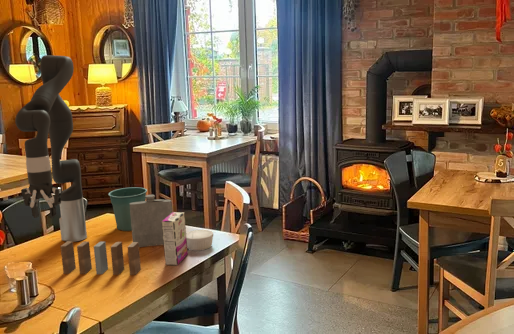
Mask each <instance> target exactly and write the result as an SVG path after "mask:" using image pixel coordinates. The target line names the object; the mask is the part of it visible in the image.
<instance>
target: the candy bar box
mask: <svg viewBox="0 0 514 334" xmlns="http://www.w3.org/2000/svg"><path fill="white" fill-rule="evenodd" d="M162 231H163V241H164V245H163V249H164V262H165V263H164V264H165V265H166V266H179V265H180V263H182V261H183V260H184V259H185V258H186V257H187V256H188V254H189V252H188V248H187V239H186V233H187V230H186V217H185V212H179V211H178V212H177V211H172V213H171V214H170V215H169V216H168V217H166V218H165V219H164V220H163V221H162Z"/></svg>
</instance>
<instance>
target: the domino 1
mask: <svg viewBox="0 0 514 334" xmlns="http://www.w3.org/2000/svg"><path fill="white" fill-rule="evenodd" d="M60 253H61V254H60V255H61V264H62V273H63V274H64V275H70V274H71V273H72V272H74V271H75V270H76V268H77V267H76V258H75V248H74V242H73V241H65V243H63V244H61V245H60Z"/></svg>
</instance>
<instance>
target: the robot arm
mask: <svg viewBox="0 0 514 334" xmlns="http://www.w3.org/2000/svg"><path fill="white" fill-rule="evenodd" d="M39 65H40V66H39V70H40V75H41V81H42V85H40V86H39V87H38V88H37V89H36V90H35V91H34V93H33V95H32V96H31V98H30V100H29V102H27V103H26V104H25V105H23V106H22V107H21V108H20V109H19V111H18V112H17V114H16V115H15V126H16V128H17V129H18V130H19V131H21V132H37V133H36V136H35V137H32V138H29V139H26V140H25V141H24V151H25V152H24V153H25V166H26V174H27V182H28V184H29V185H28V187H23V188H22V189H20V192H21V196H22V199H23V202H24V205H25V206H26V207H30V208H31V215H32V217H33V218H34V219H37V218H39V217H40V212H39V206H38V203H39V201H40V199H42V200H44V201H45V202H46V203H47V204H48V206H49V207H48V208H49V215H50V218H51V219H54V218H56V216H57V206H59V209H60V217H59V219H58V221H59V228H60V229H59V230H60V237H61V241H64V242H67V241H73V243H74V242H79V241H83V240H86V238H88V232H87V224H86V215H85V214H86V213H85V206H84V196H83V194H84V193H83V186H82V185H83V184H82V169H81V162H79V161H80V160H78V159H77V158H76V159H75V158H74V159H73V158H72V159H64V160H61V157H62V156H61V155H62V152H63V150H64V148H65V146H66V144H67V142H68V141H69V139H70V138H71V136H72V134H73V131H74V122H73V121H74V120H73V114H72V113H73V112H72V111H71V108H70V107H69V106H68V104H67V103H66V102H65V100H63V98H62V97H61V94H60V93H61V92H62V91H63V89H64V88H66V86H67V85H68V83H69V82H70V81H71V79H72V77H73V75H74V69H75V68H74V67H75V66H74V62H73V60H72V58H71V57H70V56H65V55H54V54H53V55H49V54H48V55H47V54H45V55H42V56H41V58H40V63H39ZM48 139H49V141H50V142H49V143H50V155H51V159H50V156H49V147H48ZM53 181H54V183H55V184H58V185H60V184H67V183H69V184H70V183H72V184H71V185H70V186H69V187H67V188H65V189H63V188H62V187H54V185H53ZM53 194H54V195H53Z"/></svg>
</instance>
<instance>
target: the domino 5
mask: <svg viewBox="0 0 514 334" xmlns="http://www.w3.org/2000/svg"><path fill="white" fill-rule="evenodd" d="M127 256H128V266H129V267H128V268H129V276H137V274H139V272H140V271H141V270H142V266H141V256H140V247H139V242H133V241H132V242H131V243H130V244H129V245H128V246H127Z"/></svg>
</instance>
